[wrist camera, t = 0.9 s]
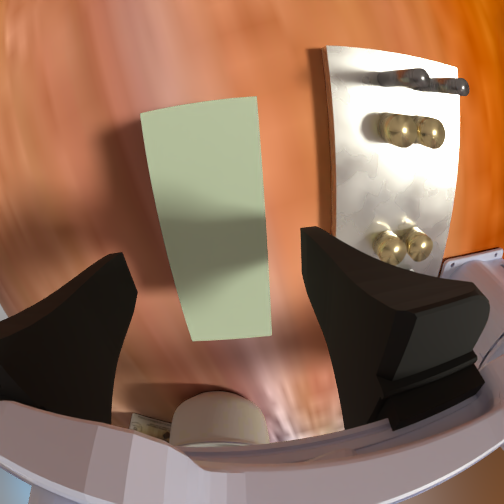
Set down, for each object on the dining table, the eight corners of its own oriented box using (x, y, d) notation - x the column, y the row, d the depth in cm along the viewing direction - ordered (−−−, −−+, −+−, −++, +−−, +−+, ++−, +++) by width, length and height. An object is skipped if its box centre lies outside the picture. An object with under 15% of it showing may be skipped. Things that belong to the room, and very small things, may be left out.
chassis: (448, 67, 13) (496, 69, 8) (429, 278, 21) (458, 314, 17) (321, 48, 13) (353, 30, 8) (328, 298, 22) (347, 344, 17)
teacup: (155, 389, 27) (144, 451, 20) (241, 368, 26) (244, 441, 19) (217, 434, 34) (217, 482, 27) (288, 419, 32) (296, 471, 25)
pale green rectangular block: (249, 100, 14) (256, 96, 9) (263, 275, 20) (271, 335, 15) (173, 109, 14) (140, 113, 9) (201, 280, 20) (192, 341, 15)
